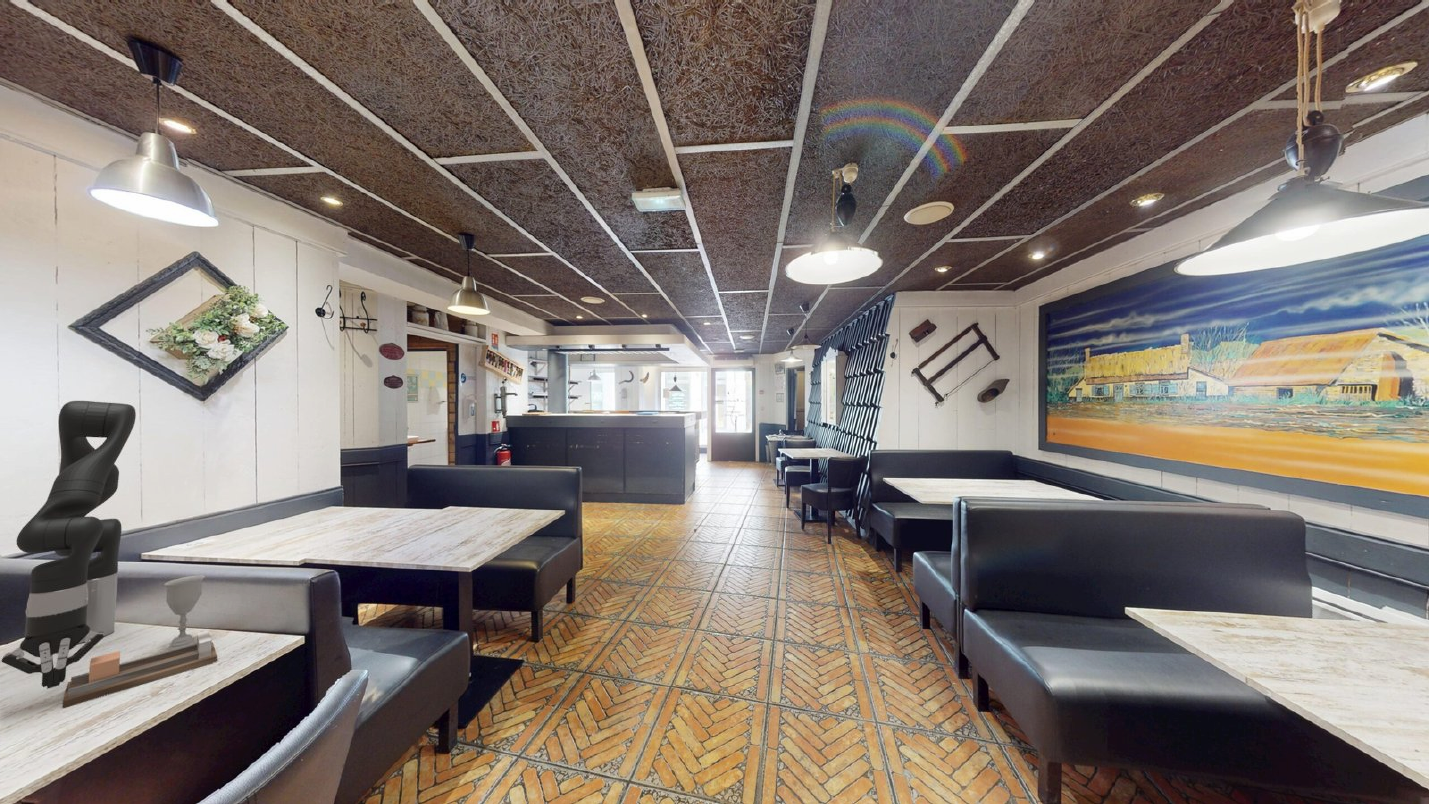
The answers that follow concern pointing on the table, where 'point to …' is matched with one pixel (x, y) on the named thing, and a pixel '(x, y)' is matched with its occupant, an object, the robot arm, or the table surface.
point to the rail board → (142, 671)
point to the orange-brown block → (104, 666)
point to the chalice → (183, 605)
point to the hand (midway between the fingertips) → (53, 685)
